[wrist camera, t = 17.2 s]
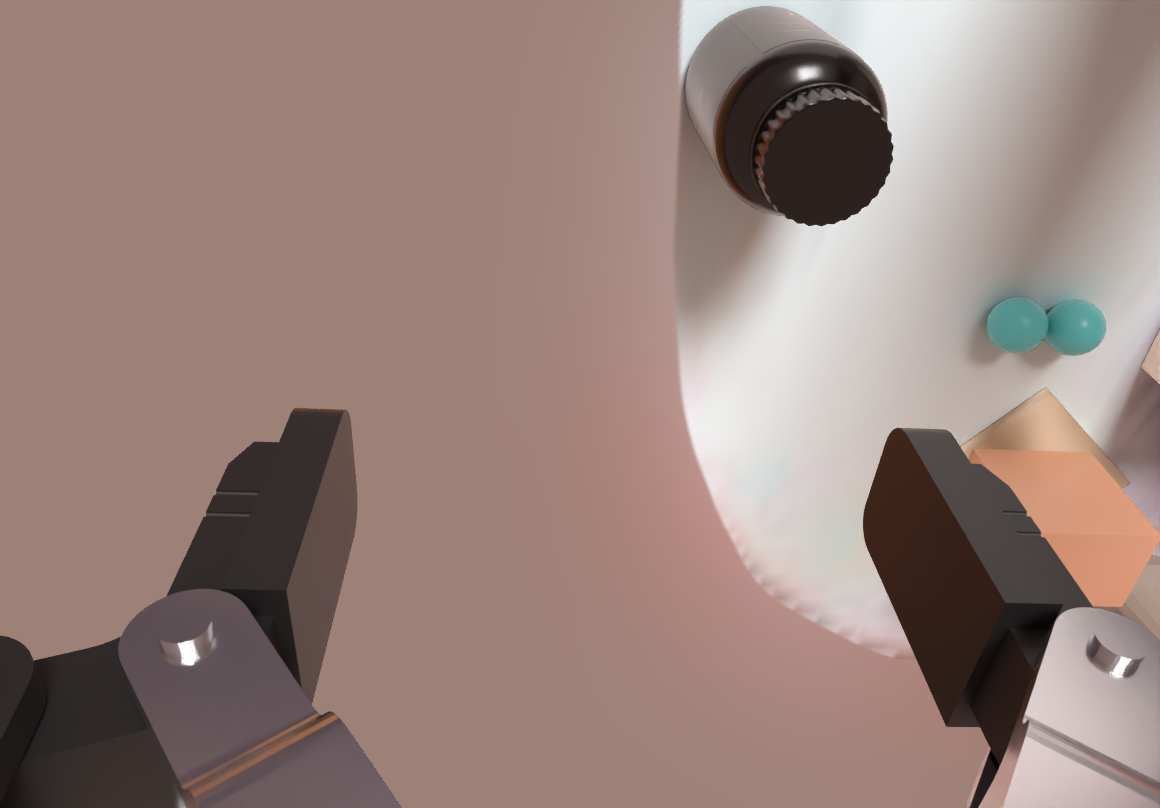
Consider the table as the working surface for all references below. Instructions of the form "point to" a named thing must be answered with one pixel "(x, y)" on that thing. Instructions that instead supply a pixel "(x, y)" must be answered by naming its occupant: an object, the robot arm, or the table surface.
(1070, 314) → the teal marble
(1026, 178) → the table surface
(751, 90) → the supplement bottle
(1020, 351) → the teal marble
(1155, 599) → the decorative mushroom
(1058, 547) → the peach rectangular brick
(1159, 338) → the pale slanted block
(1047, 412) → the birch coaster
